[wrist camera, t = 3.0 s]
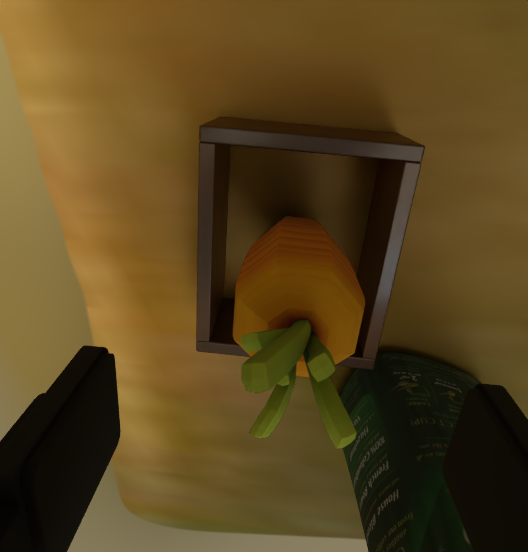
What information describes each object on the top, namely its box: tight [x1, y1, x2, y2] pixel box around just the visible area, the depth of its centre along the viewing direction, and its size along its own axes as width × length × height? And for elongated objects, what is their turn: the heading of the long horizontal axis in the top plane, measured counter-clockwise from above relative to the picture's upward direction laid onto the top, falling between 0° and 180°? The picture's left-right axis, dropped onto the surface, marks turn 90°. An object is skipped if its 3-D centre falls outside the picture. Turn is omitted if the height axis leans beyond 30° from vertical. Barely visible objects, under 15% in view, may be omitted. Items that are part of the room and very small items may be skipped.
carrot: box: [233, 216, 365, 449], centre depth 17 cm, size 5×5×15 cm
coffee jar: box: [340, 352, 481, 552], centre depth 20 cm, size 10×8×19 cm
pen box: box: [196, 117, 425, 370], centre depth 22 cm, size 11×9×5 cm
